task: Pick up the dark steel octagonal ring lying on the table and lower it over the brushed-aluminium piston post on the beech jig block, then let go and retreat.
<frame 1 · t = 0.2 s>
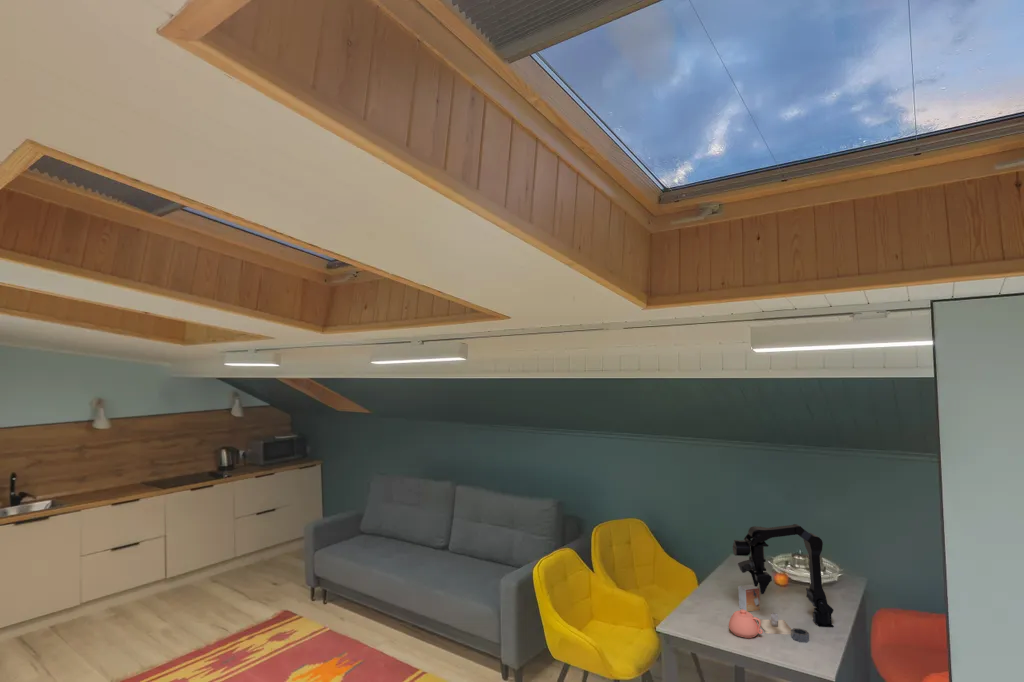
hand: (759, 590, 255), 14 cm above the table, fingers open, 9 cm apart
small box: (749, 609, 268), on the table
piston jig: (774, 627, 248), on the table
ring: (800, 638, 237), on the table
sugar bowl: (746, 635, 242), on the table
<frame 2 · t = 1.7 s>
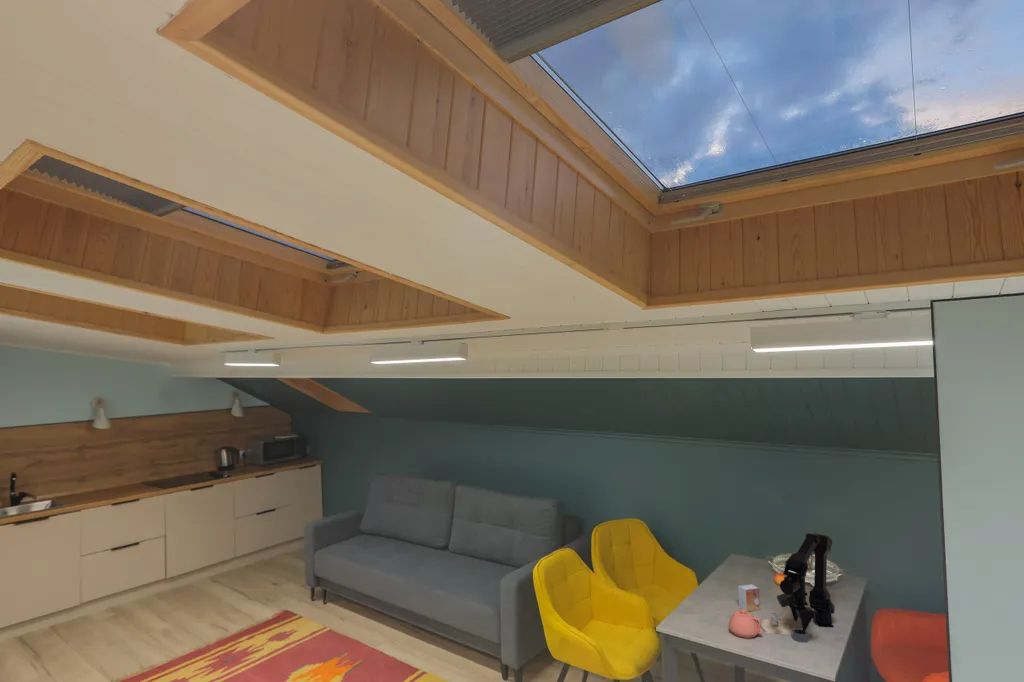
hand: (799, 625, 238), 5 cm above the table, fingers open, 9 cm apart
nothing on the table moved.
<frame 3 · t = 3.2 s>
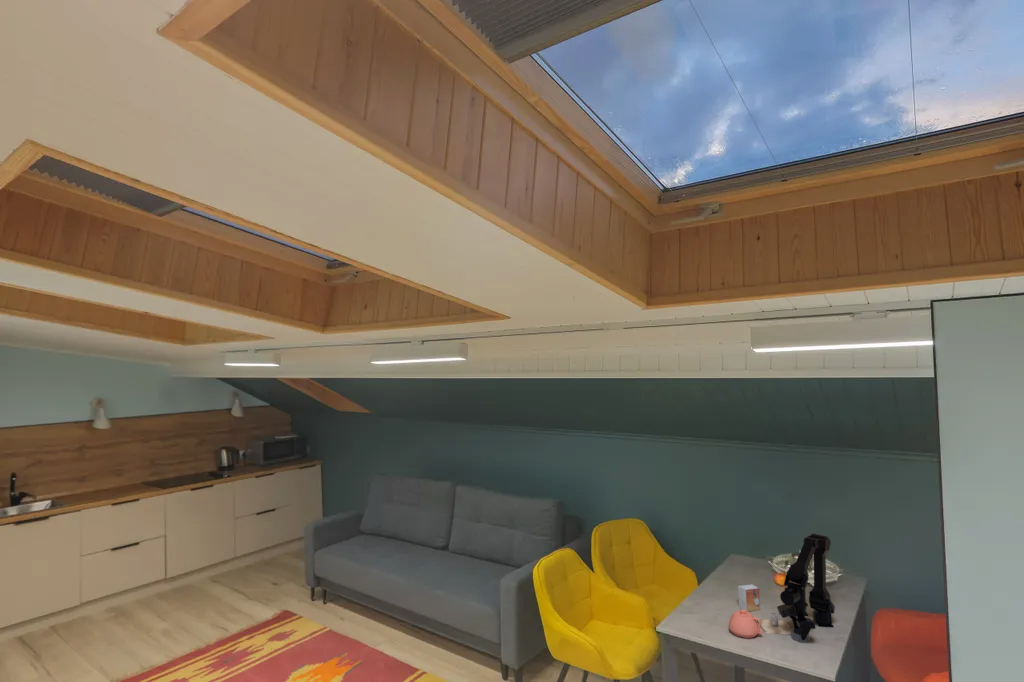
hand: (800, 636, 237), 1 cm above the table, fingers closed on ring, 6 cm apart
ring: (800, 638, 237), on the table, touching gripper
everything else where it was.
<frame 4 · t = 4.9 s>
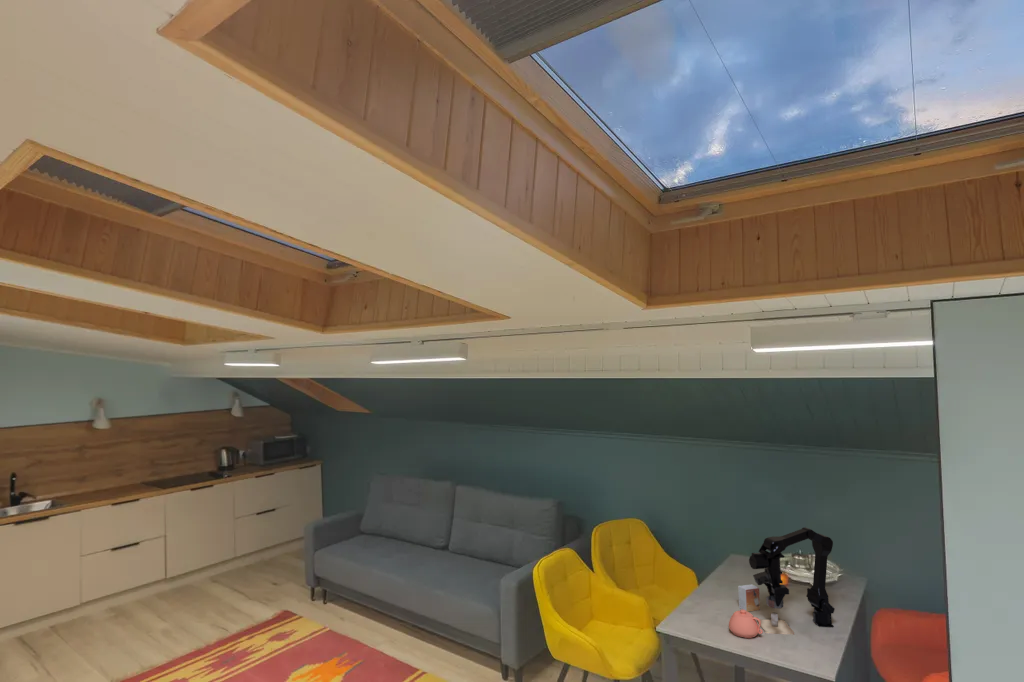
hand: (774, 603, 248), 11 cm above the table, fingers closed on ring, 6 cm apart
ring: (774, 605, 248), point 10 cm above the table, touching gripper
everything else where it was.
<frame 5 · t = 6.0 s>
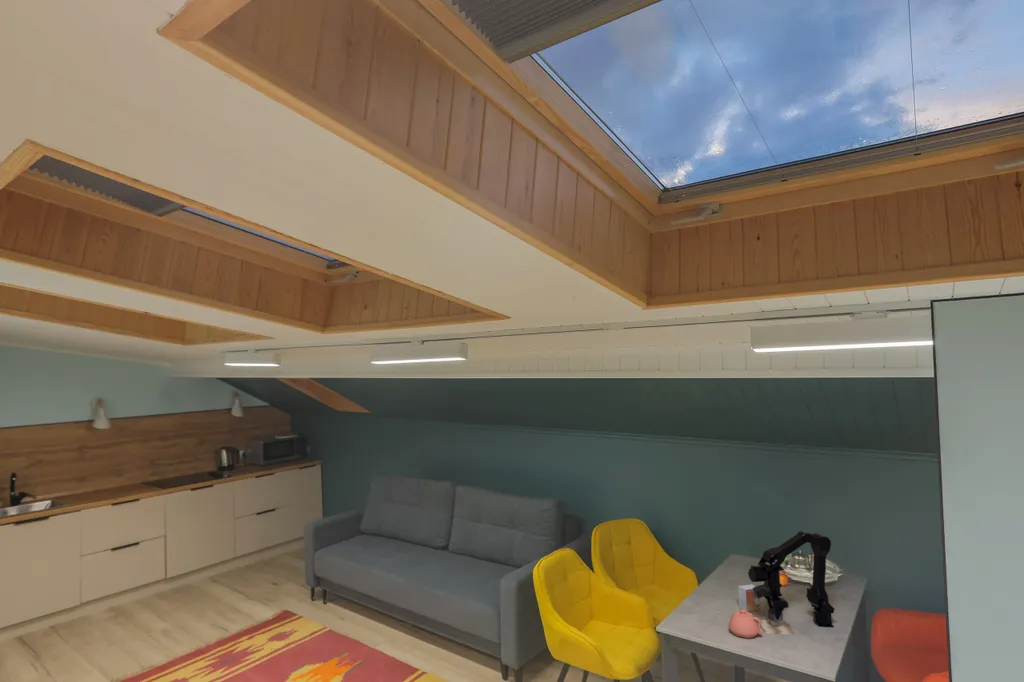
hand: (774, 615, 248), 5 cm above the table, fingers closed on ring, 6 cm apart
ring: (774, 618, 248), point 4 cm above the table, touching gripper
everything else where it was.
when the fingers open (3 cm above the table, at t = 6.9 s): ring drops 1 cm, resting on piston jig.
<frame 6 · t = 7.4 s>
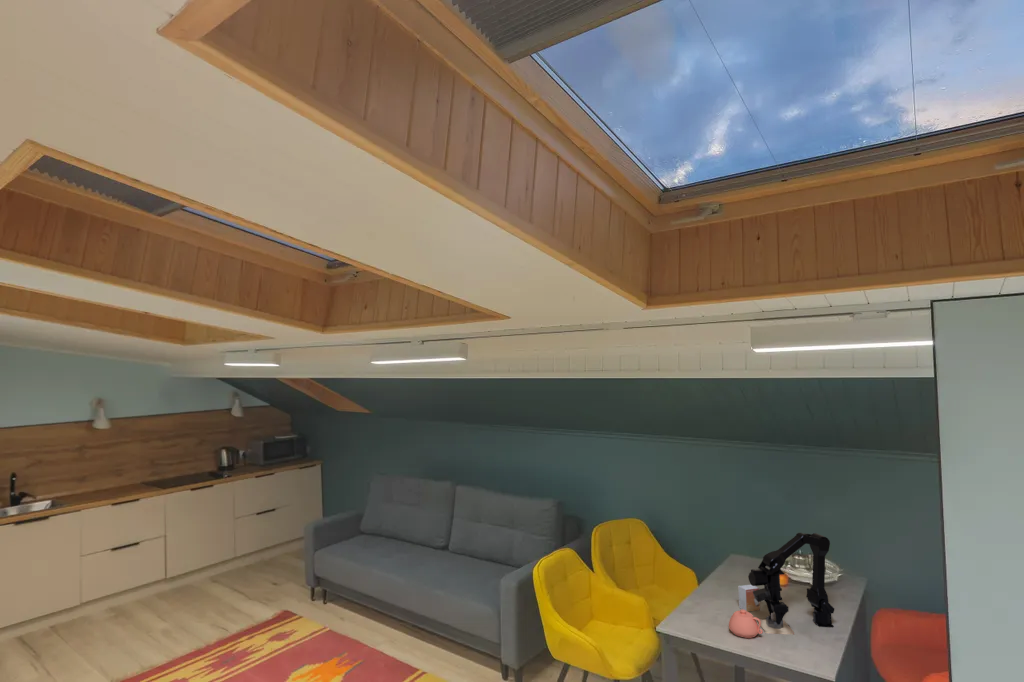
hand: (774, 619, 248), 3 cm above the table, fingers open, 9 cm apart
ring: (774, 625, 248), point 1 cm above the table, touching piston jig
everything else where it was.
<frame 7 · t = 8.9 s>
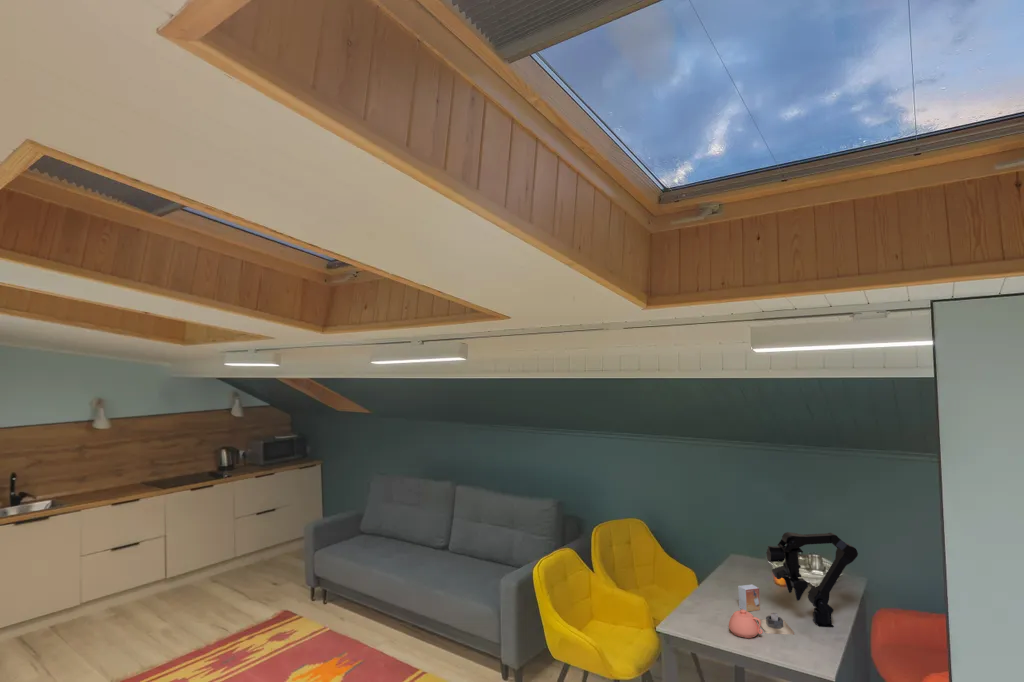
hand: (794, 596, 253), 12 cm above the table, fingers open, 9 cm apart
nothing on the table moved.
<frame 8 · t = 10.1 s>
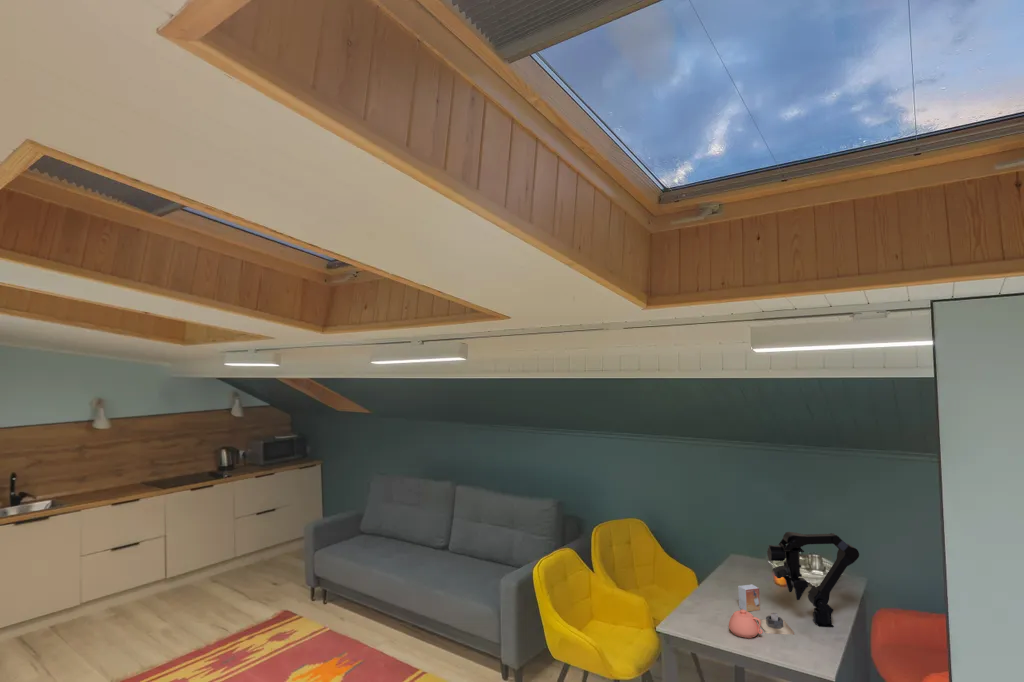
hand: (794, 595, 253), 12 cm above the table, fingers open, 9 cm apart
nothing on the table moved.
at the end: ring 0.0 cm off-centre on the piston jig, point 1.0 cm above the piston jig's base; the gripper is holding nothing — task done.
